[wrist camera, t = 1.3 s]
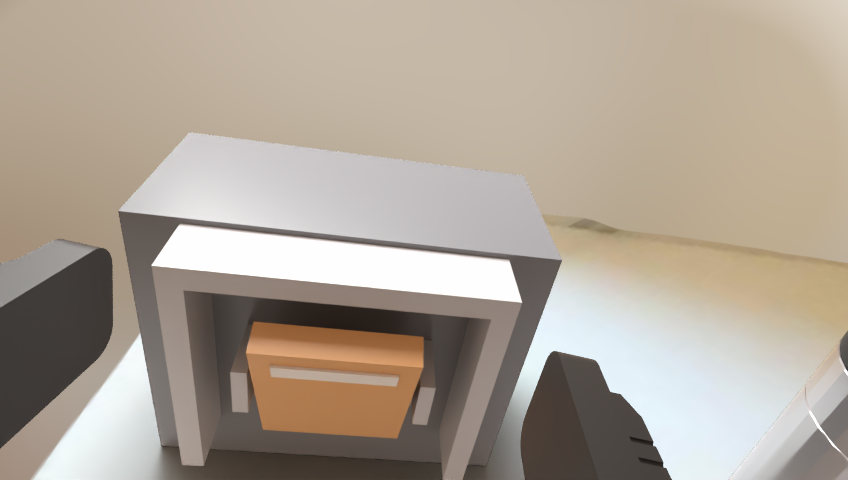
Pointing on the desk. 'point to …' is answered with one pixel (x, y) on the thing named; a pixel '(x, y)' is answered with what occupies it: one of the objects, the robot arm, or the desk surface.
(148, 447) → the desk surface
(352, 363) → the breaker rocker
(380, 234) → the box
